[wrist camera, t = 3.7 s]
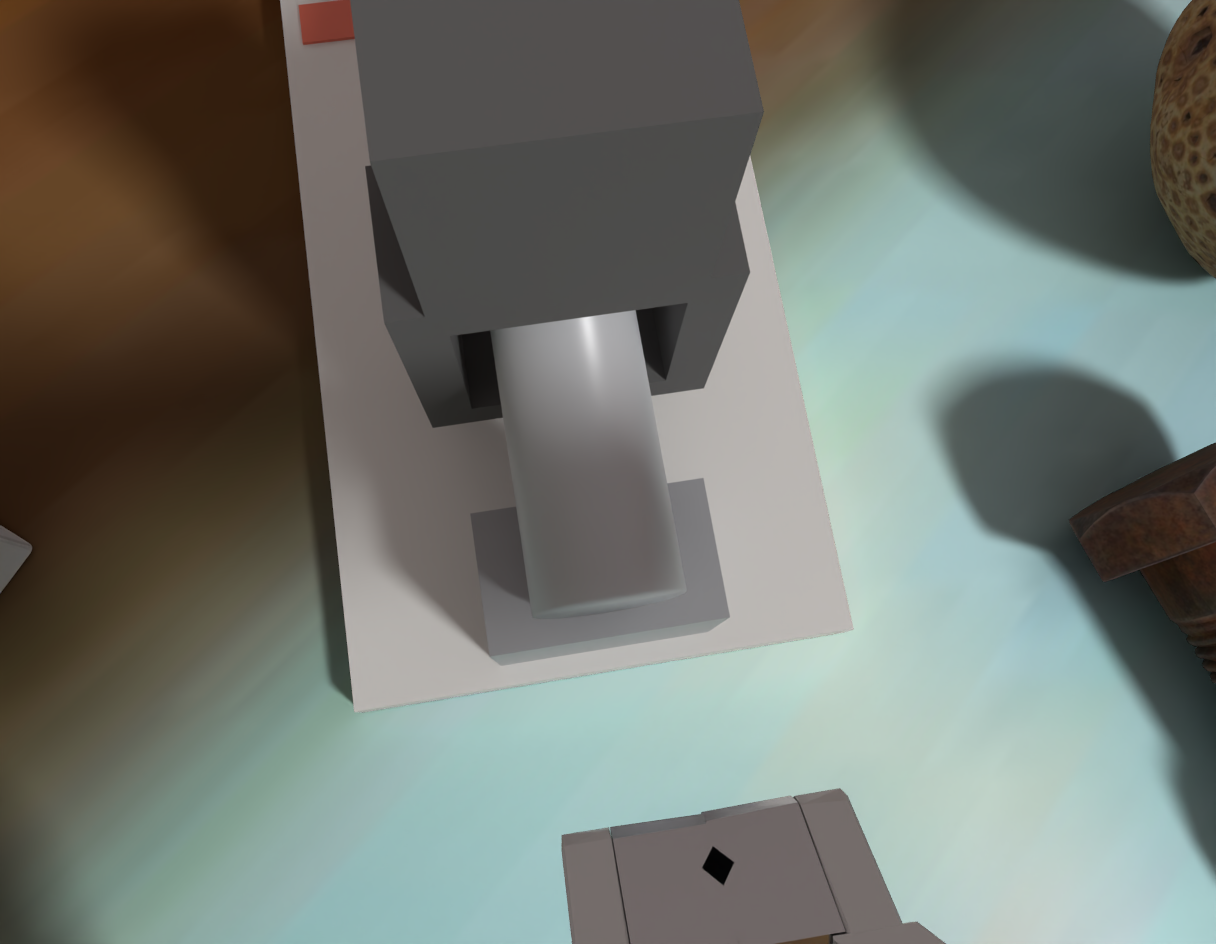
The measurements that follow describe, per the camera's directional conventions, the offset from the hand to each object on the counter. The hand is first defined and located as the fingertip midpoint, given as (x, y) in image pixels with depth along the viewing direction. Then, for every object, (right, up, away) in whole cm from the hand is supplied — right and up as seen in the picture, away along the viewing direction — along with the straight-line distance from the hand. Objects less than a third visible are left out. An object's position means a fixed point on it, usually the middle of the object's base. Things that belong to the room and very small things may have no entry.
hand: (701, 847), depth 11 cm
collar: (-2, +7, +13) cm, 15 cm away
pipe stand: (-3, +12, +18) cm, 21 cm away
